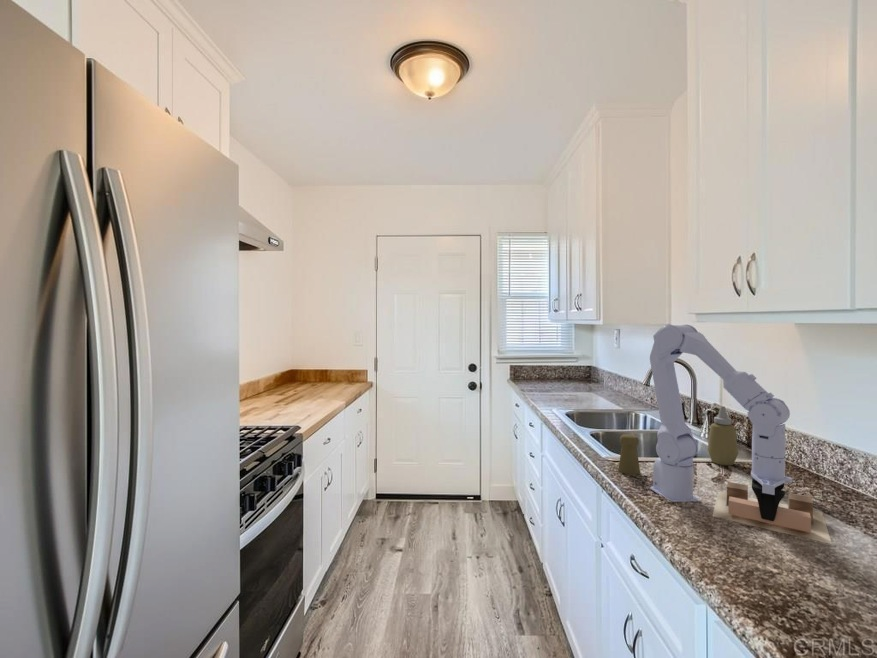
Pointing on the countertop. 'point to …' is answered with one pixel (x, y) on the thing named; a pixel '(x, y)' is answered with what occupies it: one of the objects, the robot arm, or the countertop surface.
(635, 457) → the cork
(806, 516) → the beam
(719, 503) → the board
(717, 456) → the squeeze bottle
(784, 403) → the robot arm
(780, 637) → the countertop surface
